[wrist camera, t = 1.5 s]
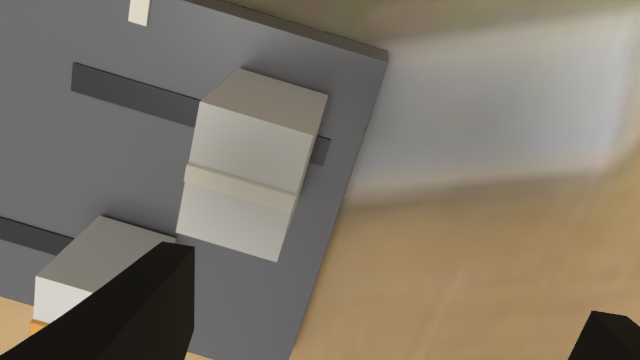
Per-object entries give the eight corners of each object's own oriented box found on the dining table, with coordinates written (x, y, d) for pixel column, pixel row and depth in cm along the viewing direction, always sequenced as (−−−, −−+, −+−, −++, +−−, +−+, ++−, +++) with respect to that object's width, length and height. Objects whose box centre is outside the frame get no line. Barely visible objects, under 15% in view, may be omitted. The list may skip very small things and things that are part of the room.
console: (387, 50, 18) (387, 63, 16) (289, 347, 24) (281, 381, 22) (-84, -93, 18) (-140, -97, 16) (-68, 241, 24) (-108, 266, 22)
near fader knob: (328, 95, 17) (312, 137, 13) (297, 200, 19) (275, 265, 15) (239, 68, 17) (197, 103, 13) (216, 176, 19) (173, 235, 15)
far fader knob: (176, 238, 20) (127, 306, 16) (161, 318, 22) (113, 398, 18) (99, 215, 20) (32, 278, 16) (90, 298, 22) (27, 372, 18)
